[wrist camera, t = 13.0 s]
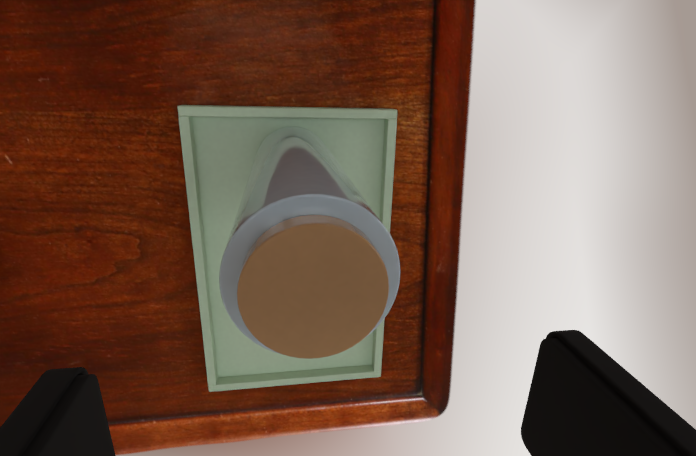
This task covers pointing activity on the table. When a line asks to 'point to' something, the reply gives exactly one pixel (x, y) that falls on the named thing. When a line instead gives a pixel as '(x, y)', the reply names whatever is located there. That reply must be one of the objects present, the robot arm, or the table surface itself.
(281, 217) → the grey cylinder
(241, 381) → the tray
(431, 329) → the table surface
